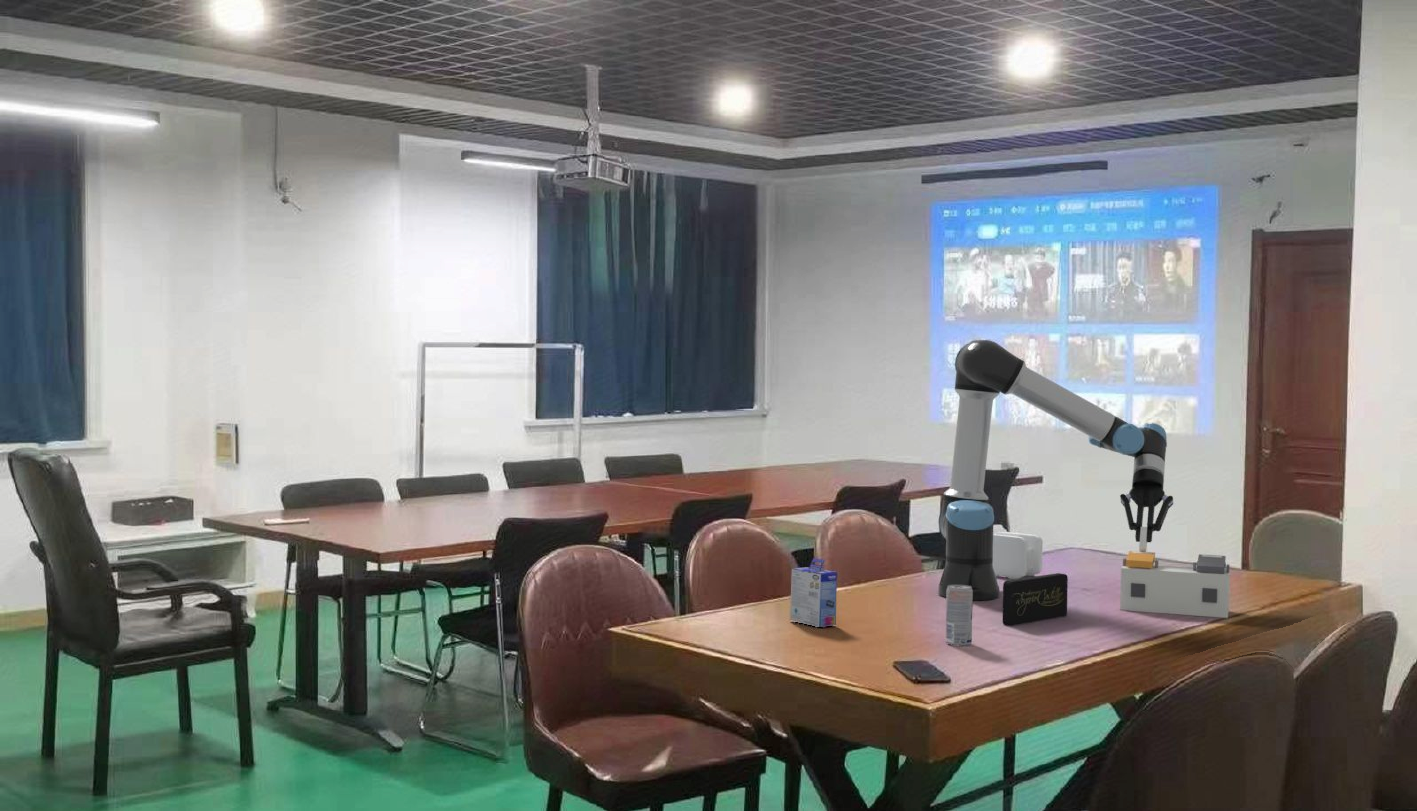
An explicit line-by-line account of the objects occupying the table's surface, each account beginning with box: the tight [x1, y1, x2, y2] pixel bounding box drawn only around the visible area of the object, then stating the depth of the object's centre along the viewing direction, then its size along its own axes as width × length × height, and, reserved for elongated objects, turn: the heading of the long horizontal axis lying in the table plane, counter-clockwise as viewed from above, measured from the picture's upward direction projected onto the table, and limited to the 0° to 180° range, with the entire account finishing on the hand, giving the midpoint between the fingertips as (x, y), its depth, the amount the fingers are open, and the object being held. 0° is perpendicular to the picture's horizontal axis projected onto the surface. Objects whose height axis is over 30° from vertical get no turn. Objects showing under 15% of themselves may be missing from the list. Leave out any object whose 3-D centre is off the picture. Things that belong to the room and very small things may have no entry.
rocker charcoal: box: [1196, 553, 1227, 574], centre depth 321 cm, size 8×6×2 cm
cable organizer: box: [993, 531, 1044, 580], centre depth 376 cm, size 15×11×12 cm
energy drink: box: [945, 585, 974, 647], centre depth 282 cm, size 5×5×12 cm
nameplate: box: [1002, 572, 1069, 627], centre depth 310 cm, size 21×2×10 cm, turn 129°
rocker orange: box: [1126, 550, 1156, 568], centre depth 327 cm, size 8×6×2 cm
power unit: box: [1119, 557, 1231, 619], centre depth 324 cm, size 10×24×12 cm, turn 67°
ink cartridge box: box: [789, 557, 838, 628], centre depth 302 cm, size 10×6×14 cm, turn 40°
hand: (1142, 551), depth 331 cm, fingers closed
